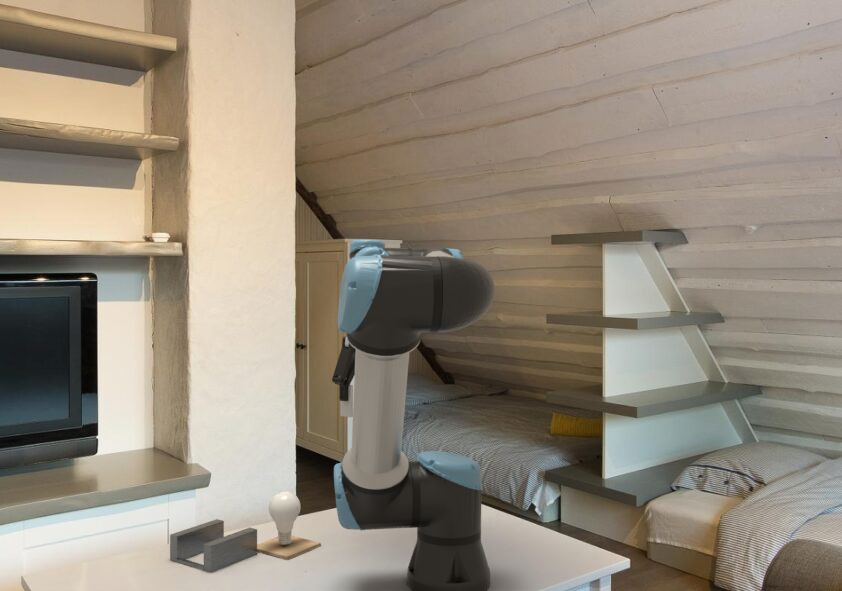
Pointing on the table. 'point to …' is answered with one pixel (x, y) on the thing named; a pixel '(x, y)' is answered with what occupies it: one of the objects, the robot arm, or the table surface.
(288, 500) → the lightbulb
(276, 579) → the table surface
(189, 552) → the housing
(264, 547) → the cork pad
